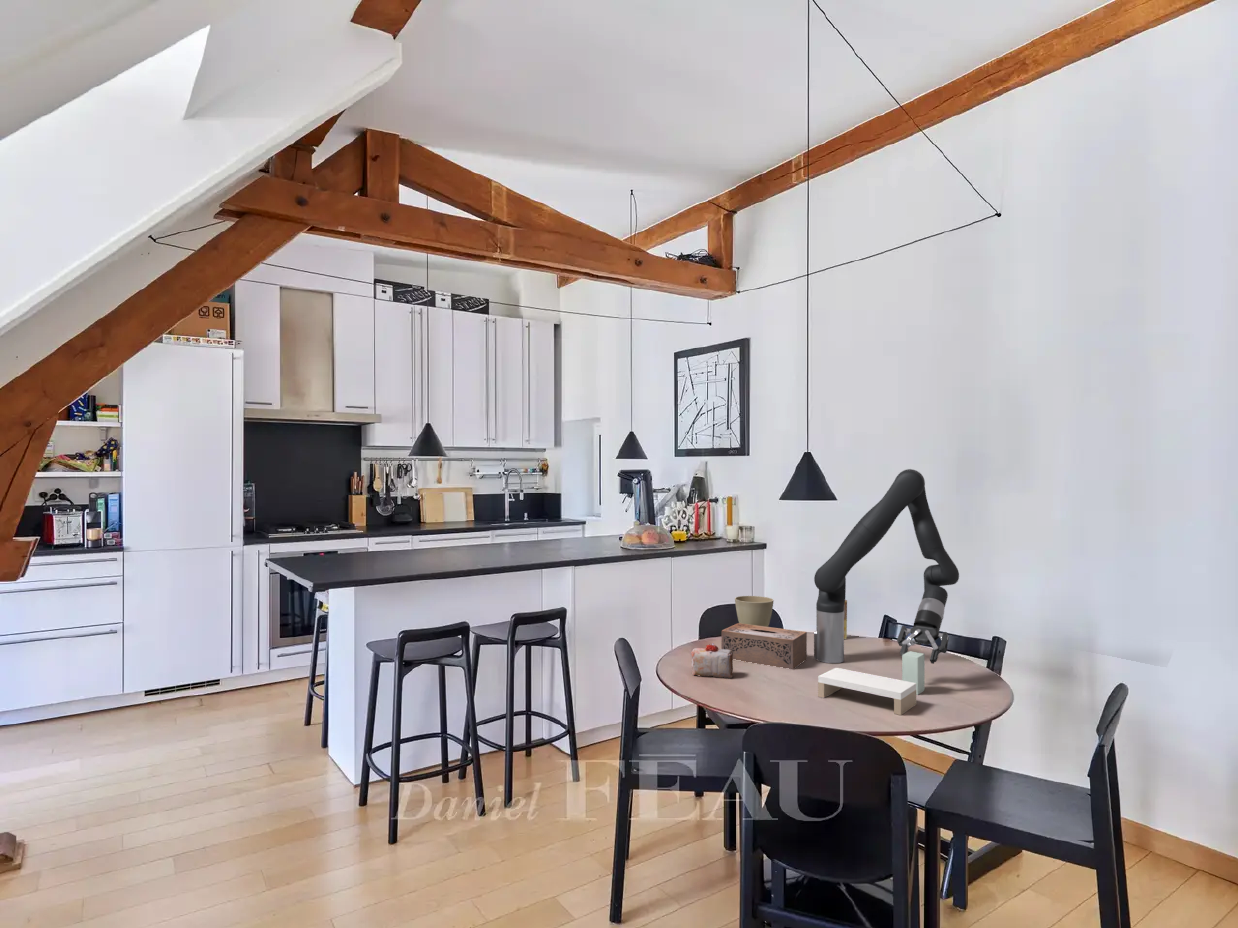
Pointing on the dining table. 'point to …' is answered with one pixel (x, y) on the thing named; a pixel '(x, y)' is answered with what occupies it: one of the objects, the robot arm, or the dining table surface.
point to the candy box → (845, 620)
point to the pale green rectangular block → (914, 669)
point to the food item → (712, 662)
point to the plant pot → (754, 610)
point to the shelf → (869, 687)
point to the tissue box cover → (765, 645)
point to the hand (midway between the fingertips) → (917, 659)
